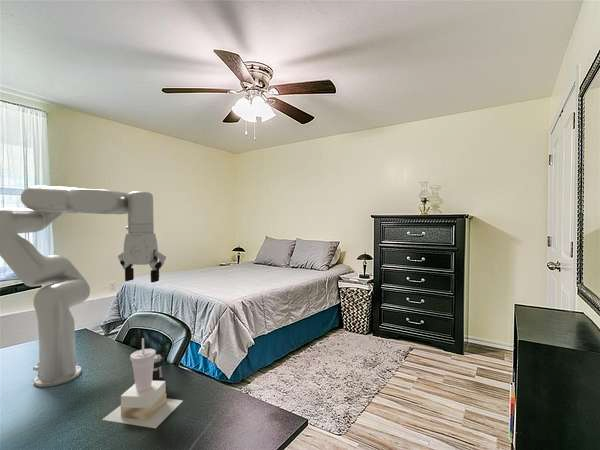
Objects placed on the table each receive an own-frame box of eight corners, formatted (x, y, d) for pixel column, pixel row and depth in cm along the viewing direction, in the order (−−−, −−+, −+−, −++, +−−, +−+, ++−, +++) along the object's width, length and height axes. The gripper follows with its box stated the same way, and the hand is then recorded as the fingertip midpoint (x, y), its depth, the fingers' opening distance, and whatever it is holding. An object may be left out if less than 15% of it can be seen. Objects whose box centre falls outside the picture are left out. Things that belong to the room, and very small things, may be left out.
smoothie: (130, 397, 82) (129, 344, 81) (130, 385, 88) (129, 335, 87) (157, 390, 85) (156, 339, 84) (155, 379, 91) (155, 331, 90)
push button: (148, 397, 93) (147, 364, 93) (138, 392, 96) (137, 359, 95) (168, 387, 98) (167, 355, 98) (158, 382, 101) (157, 351, 101)
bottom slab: (120, 416, 83) (120, 405, 83) (142, 399, 91) (141, 389, 91) (147, 420, 82) (146, 409, 81) (166, 402, 89) (166, 392, 89)
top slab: (121, 407, 83) (120, 396, 82) (138, 390, 90) (138, 380, 90) (150, 408, 82) (150, 397, 82) (165, 391, 90) (165, 381, 90)
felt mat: (102, 421, 82) (101, 419, 82) (135, 395, 94) (135, 394, 94) (155, 430, 79) (155, 428, 79) (183, 402, 90) (183, 400, 90)
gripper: (109, 229, 101) (110, 282, 102) (156, 230, 98) (157, 284, 98) (127, 228, 109) (128, 277, 109) (171, 229, 105) (172, 279, 106)
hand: (142, 281), depth 104 cm, fingers open, 9 cm apart
